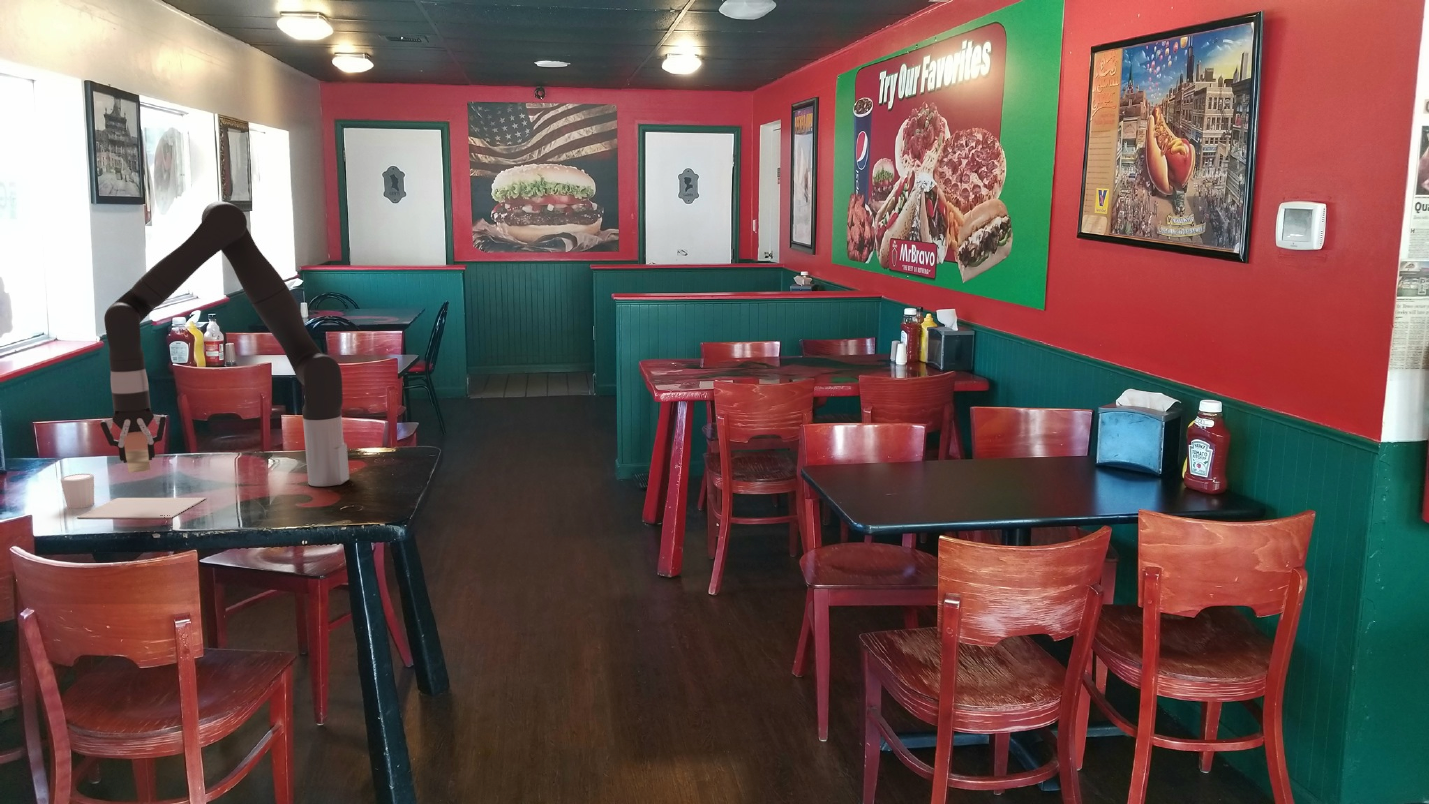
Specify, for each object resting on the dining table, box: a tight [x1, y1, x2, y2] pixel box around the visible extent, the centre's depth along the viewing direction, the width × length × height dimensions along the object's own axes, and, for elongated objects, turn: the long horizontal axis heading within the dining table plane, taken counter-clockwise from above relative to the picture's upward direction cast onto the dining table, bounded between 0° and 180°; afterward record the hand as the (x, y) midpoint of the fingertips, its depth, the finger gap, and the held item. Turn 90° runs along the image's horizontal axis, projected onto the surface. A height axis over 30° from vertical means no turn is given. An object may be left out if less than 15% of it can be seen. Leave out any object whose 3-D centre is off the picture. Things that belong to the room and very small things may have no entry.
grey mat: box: [76, 497, 207, 520], centre depth 250 cm, size 22×16×1 cm
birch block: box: [124, 431, 151, 474], centre depth 248 cm, size 5×5×10 cm
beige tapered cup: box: [59, 473, 95, 509], centre depth 253 cm, size 7×7×7 cm
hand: (138, 460), depth 248 cm, fingers closed on birch block, 4 cm apart
